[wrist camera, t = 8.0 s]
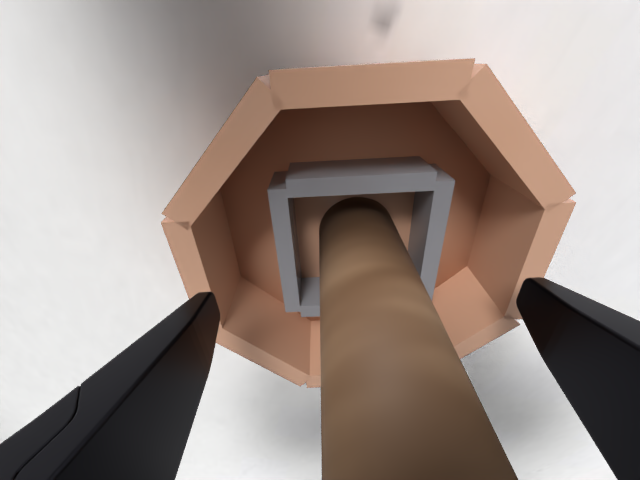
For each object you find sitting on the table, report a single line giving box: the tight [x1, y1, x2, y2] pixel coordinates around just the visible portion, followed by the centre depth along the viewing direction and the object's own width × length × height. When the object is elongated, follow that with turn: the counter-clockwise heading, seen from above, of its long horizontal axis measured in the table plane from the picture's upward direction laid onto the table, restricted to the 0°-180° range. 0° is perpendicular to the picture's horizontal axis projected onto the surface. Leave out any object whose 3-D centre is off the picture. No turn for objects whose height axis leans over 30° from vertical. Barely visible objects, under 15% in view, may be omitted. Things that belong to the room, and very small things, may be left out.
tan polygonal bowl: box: [161, 58, 576, 388], centre depth 11 cm, size 12×12×4 cm
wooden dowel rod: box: [319, 197, 518, 480], centre depth 8 cm, size 3×3×9 cm
